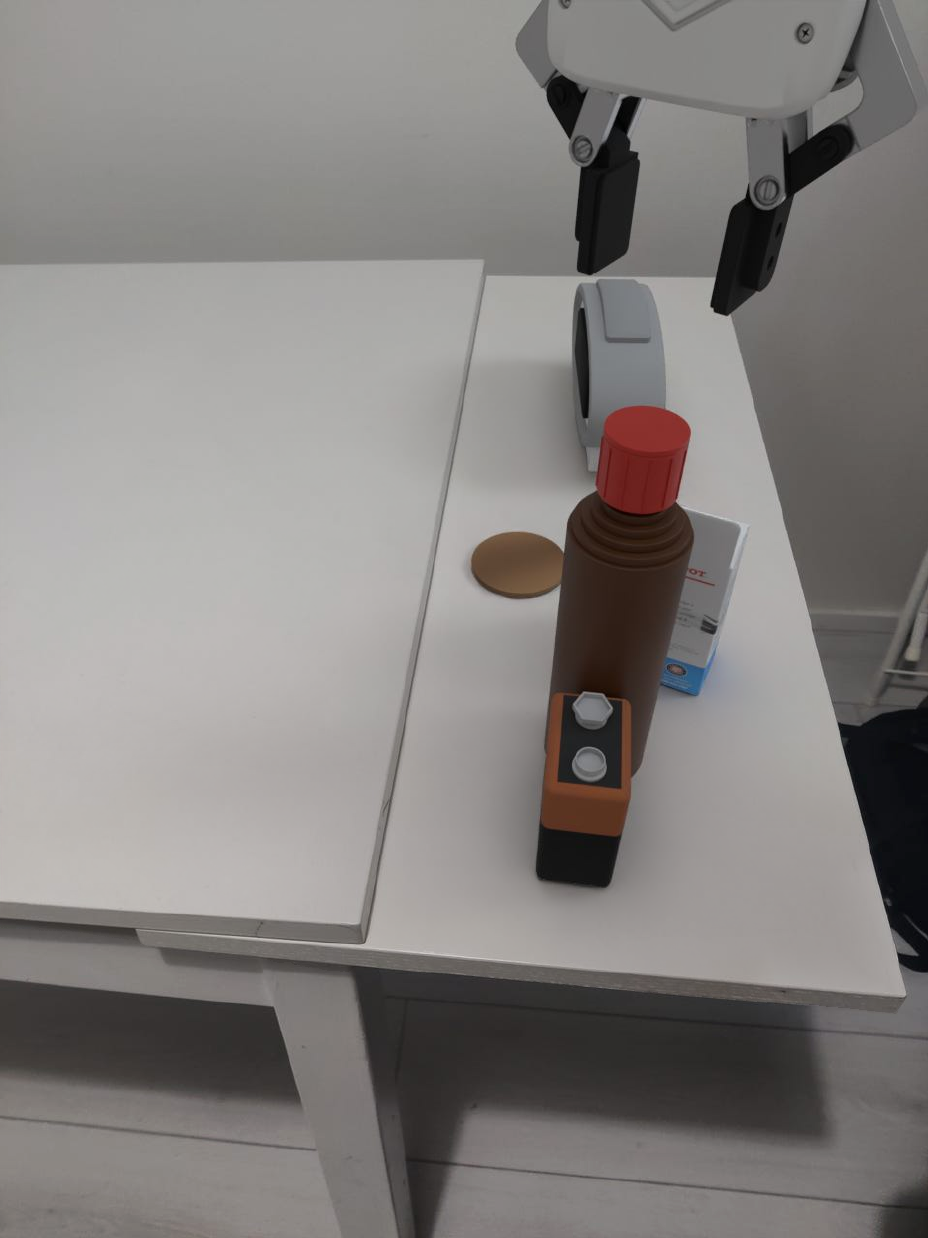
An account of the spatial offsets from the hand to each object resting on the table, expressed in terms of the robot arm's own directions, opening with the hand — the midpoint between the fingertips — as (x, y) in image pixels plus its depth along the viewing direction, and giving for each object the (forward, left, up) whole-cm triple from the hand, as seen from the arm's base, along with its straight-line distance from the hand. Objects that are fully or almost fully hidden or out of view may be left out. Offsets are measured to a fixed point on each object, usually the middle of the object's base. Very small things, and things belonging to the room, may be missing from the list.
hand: (666, 277), depth 35 cm
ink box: (+3, -9, -31) cm, 33 cm away
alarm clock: (+25, -31, -31) cm, 51 cm away
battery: (-4, +6, -31) cm, 32 cm away
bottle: (0, 0, -31) cm, 31 cm away
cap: (0, 0, -10) cm, 10 cm away
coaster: (+16, -10, -31) cm, 36 cm away
